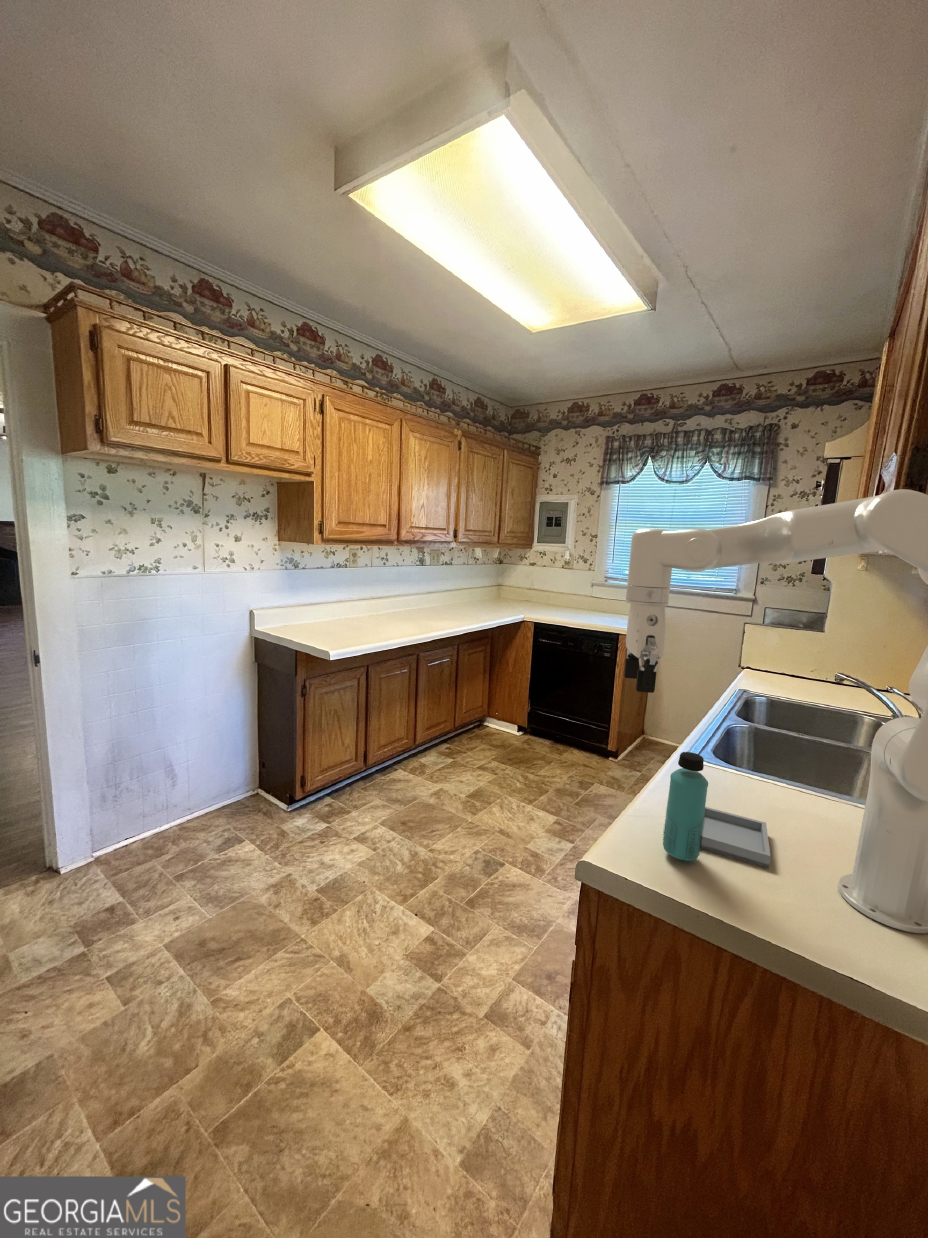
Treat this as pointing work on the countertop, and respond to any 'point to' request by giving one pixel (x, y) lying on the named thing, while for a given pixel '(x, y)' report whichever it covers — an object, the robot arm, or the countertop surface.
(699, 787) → the beverage bottle
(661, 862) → the countertop surface
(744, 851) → the tray
